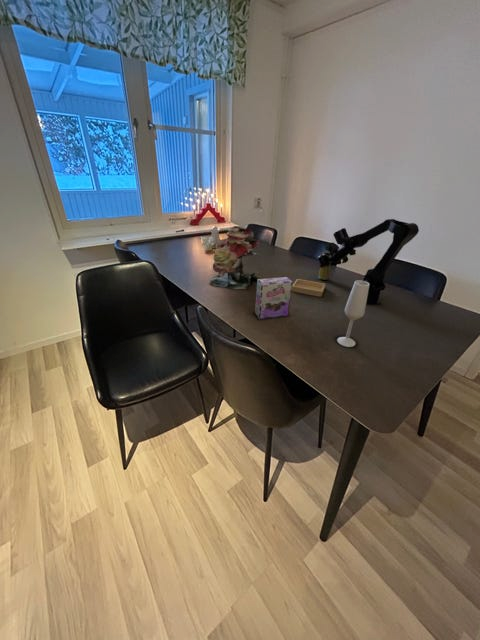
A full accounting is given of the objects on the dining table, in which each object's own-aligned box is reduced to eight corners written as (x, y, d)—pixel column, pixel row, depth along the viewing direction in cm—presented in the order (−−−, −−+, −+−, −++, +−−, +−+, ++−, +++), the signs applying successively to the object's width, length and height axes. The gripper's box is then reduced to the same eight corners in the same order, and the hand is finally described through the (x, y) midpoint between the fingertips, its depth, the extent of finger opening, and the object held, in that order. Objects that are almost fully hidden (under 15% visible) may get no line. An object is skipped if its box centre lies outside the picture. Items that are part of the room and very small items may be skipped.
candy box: (258, 319, 117) (261, 283, 108) (254, 313, 121) (256, 278, 113) (288, 316, 120) (293, 281, 112) (283, 310, 125) (287, 276, 117)
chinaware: (198, 244, 223) (195, 224, 215) (218, 241, 227) (215, 221, 218) (205, 254, 200) (201, 231, 192) (227, 251, 204) (224, 228, 195)
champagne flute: (351, 336, 107) (367, 279, 95) (358, 346, 101) (376, 287, 89) (334, 336, 106) (348, 279, 94) (340, 346, 101) (356, 286, 89)
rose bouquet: (224, 269, 169) (223, 219, 154) (266, 279, 156) (270, 225, 141) (198, 282, 150) (195, 226, 135) (243, 295, 137) (246, 234, 122)
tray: (324, 288, 148) (325, 283, 146) (321, 296, 138) (322, 291, 137) (296, 283, 153) (297, 278, 151) (291, 291, 144) (291, 286, 142)
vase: (324, 280, 155) (329, 256, 148) (315, 277, 159) (319, 253, 152) (330, 278, 159) (335, 254, 152) (321, 275, 163) (326, 251, 156)
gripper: (348, 237, 149) (330, 252, 163) (323, 240, 141) (306, 255, 154) (357, 255, 147) (337, 268, 160) (331, 259, 139) (313, 273, 152)
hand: (323, 266), depth 157 cm, fingers closed on vase, 5 cm apart
